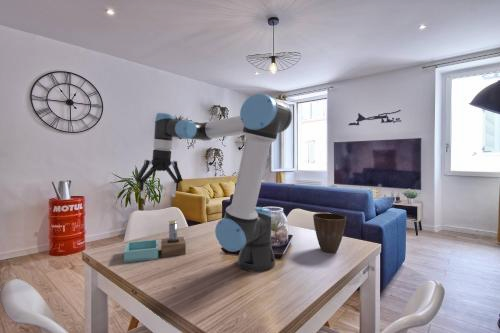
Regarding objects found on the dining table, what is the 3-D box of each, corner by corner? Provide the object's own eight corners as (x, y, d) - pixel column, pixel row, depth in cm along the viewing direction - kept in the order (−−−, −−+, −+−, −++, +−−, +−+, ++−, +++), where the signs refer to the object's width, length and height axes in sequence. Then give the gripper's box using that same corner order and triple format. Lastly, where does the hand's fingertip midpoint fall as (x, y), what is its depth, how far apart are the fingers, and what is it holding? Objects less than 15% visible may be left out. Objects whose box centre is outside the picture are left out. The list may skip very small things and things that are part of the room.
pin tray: (158, 258, 110) (158, 248, 110) (124, 262, 105) (124, 252, 105) (158, 248, 122) (157, 239, 122) (127, 252, 118) (127, 242, 118)
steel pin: (177, 252, 117) (177, 222, 117) (169, 253, 116) (169, 222, 115) (176, 250, 120) (176, 220, 120) (169, 251, 119) (168, 220, 119)
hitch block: (185, 254, 115) (185, 243, 115) (161, 257, 112) (161, 245, 112) (183, 247, 124) (183, 236, 124) (161, 249, 121) (161, 238, 121)
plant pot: (316, 243, 132) (316, 211, 131) (347, 247, 125) (347, 214, 125) (309, 252, 118) (310, 217, 118) (344, 258, 112) (344, 221, 111)
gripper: (185, 150, 124) (181, 194, 126) (129, 146, 107) (126, 196, 109) (192, 152, 118) (188, 197, 120) (134, 148, 102) (131, 201, 104)
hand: (158, 197), depth 115 cm, fingers open, 13 cm apart
